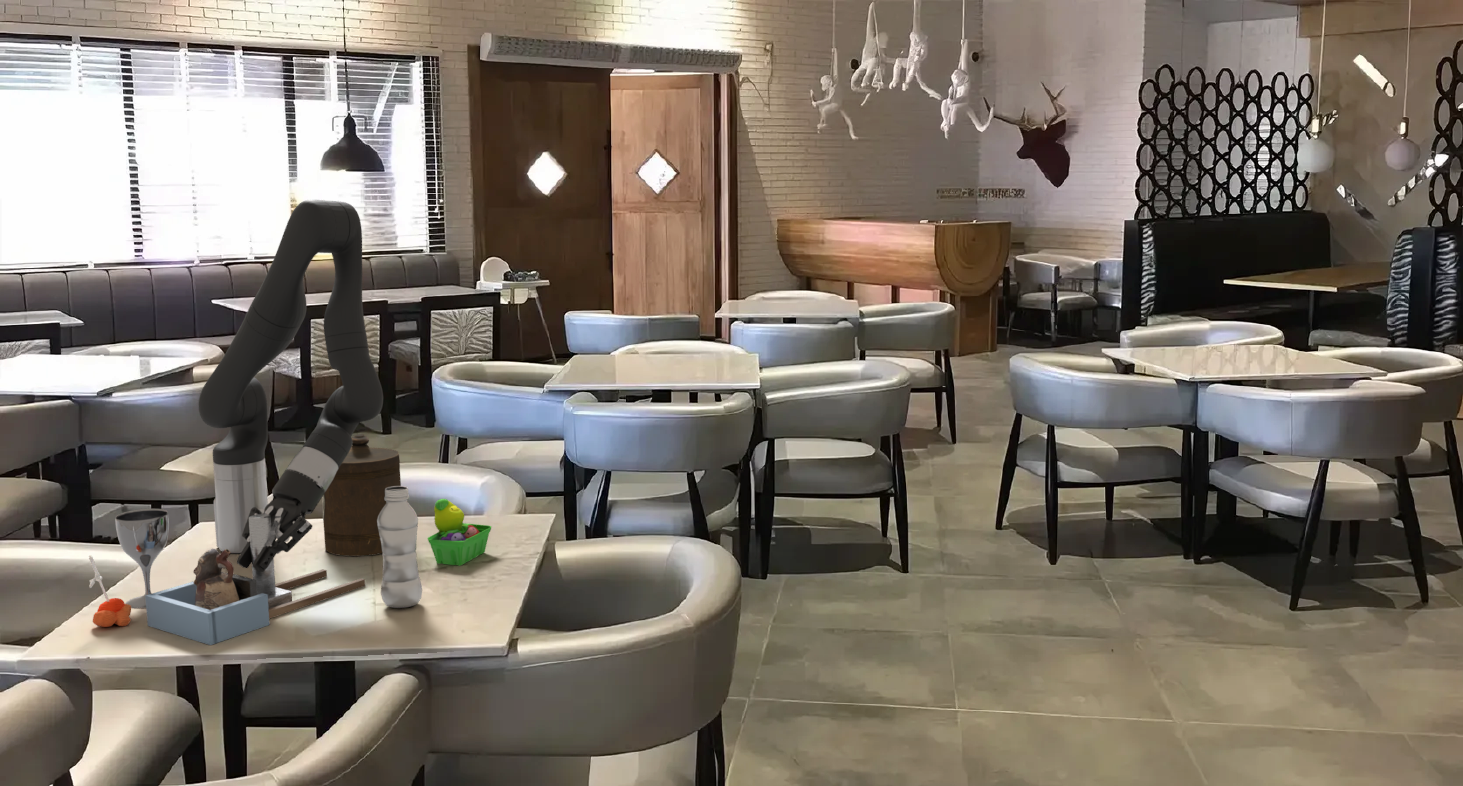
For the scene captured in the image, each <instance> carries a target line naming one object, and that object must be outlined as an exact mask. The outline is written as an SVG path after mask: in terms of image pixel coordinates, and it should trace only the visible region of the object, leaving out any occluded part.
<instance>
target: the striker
mask: <svg viewBox="0 0 1463 786" xmlns="http://www.w3.org/2000/svg"><path fill="white" fill-rule="evenodd" d="M271 527H272V526H271V515H267V514H260V515H254V516H250V517H249V530H250V545H251V560H252V563H251V574H252V577H248V576H243V575H239V574H235V573H233V577H232V580H233V582H234V584H235V587H236V591H237V594H238V597H239V601H240V600H243V599H246V598H249V597H252V596H256V595H259V594H262V593H264V594H267V595H268V609H270V608H273V607H276V606H279V605H282V604H285V603H288V602H291V601H293V591H291V590H289V589H287V590H284V589H281V588H277V587H275V584H276V577H275V575H276V574H275V562H274V561H275V560H274V558H275V557H274V558H273V560H272V561H271V563H270V564H269V566H268V567H267V568H266V569H265V571H264V572H259V571H257V570H256V569H255V568H253V566H252V564H253V563H254V561H255V559H256V558H257V556H258V555H259V553H260V552H261V550H262V549H263V547H267V546H266V543H267V541H268V539H269V537H270V530H271ZM225 573H226V572H225ZM226 574H228V572H227V573H226Z"/></svg>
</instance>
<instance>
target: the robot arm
mask: <svg viewBox="0 0 1463 786" xmlns="http://www.w3.org/2000/svg"><path fill="white" fill-rule="evenodd" d="M283 231H284V232H283V235H282V237H281V240H280V242H279V244H278V248H277V250H276V252H275V255H274V257H273V261H272V262H271V265H270V267H269V269H268V271H267V273H266V275H265V277H264V279H263V282H262V284H261V285H260V287H259V289H258V291H257V293H256V295H255V296H254V297H253V300H252V302H251V303H250V306H249V308H248V310H247V311H246V314H245V315H244V318H243V319H242V320H243V321H242V322H241V325H240V327H239V328H238V330H237V332H236V333H235V335H234V337H233V340H232V341H231V343H230V345H229V346H228V348H227V350H226V352H225V354H224V355H223V357H222V359H221V360H220V362H219V363H218V365H217V366H216V367H215V368H214V370H213V372H212V373H211V375H210V376H209V377H208V379H207V381H206V382H205V383H204V385H203V387H202V389H201V392H200V395H199V398H198V412H199V416H200V417H201V420H202V421H203V422H204V423H205V424H206V425H207V426H209V427H212V428H214V429H226V428H230V429H229V431H228V433H227V434H226V436H225V437H224V438H223V439H222V440H221V441H219V442H218V443H217V444H215V446H214V447H213V448H212V463H213V464H212V465H213V476H214V477H213V478H214V479H213V480H214V491H215V493H214V494H215V498H214V500H213V511H214V512H213V513H214V525H215V526H214V527H215V539H216V540H215V541H216V542H215V543H216V548H219V549H218V550H220V551H221V553H222V552H223V551H224V550H225V549H228V550H229V551H230V554H239V555H238V556H237V559H236V564H237V565H239V566H240V568H241V567H242V568H244V569H248V568H249V567H250V565H251V567H252V566H253V568H255V569H256V570H257V571H259V572H264V571H265V569H266V568H267V567H268V566H269V564H270V563H271V561H272V560H273V558H275V557H276V555H278V554H280V553H281V552H284V553H288V552H290V551H291V550H292V549H293V547H295V546H296V545H297V544H298V543H299V542H300V541H301V540H302V539H303V537H305V536H306V534H308V533H309V532H310V531H311V530H312V529H313V524H311V523H310V522H309V521H308V520H307V519H306V516H307V515H311V514H312V513H314V511H315V509H316V508H317V506H318V505H319V503H320V501H321V500H322V497H323V495H324V493H325V492H326V490H327V489H328V487H329V486H330V484H331V482H332V481H333V479H334V477H335V474H336V472H337V470H338V468H339V467H340V465H341V464H342V462H343V461H344V459H345V457H346V456H347V454H348V453H349V451H350V449H351V447H352V443H353V442H352V437H353V436H352V435H353V434H354V432H355V430H356V428H357V427H358V425H359V424H360V423H362V422H366V421H370V420H373V419H374V418H376V417H378V415H380V412H381V411H382V409H383V404H384V392H383V388H382V384H381V382H380V378H379V376H378V374H377V373H378V372H377V370H376V367H375V366H374V364H373V362H372V359H371V356H370V348H369V342H368V337H367V331H366V325H365V318H364V308H363V231H362V223H361V218H360V216H359V214H358V211H357V210H356V208H355V207H354V205H352V204H350V203H348V202H345V201H339V200H337V201H336V200H325V199H323V200H322V199H306V200H303V201H301V202H299V203H298V204H297V206H296V207H294V209H293V211H292V212H291V214H290V217H289V219H288V220H287V223H286V226H285V229H284V230H283ZM317 254H331V256H332V259H333V260H332V261H333V264H334V282H333V287H332V291H331V294H330V297H329V299H328V301H327V306H326V309H325V312H324V318H323V335H324V340H325V347H326V353H327V359H328V364H329V366H330V367H331V368H332V369H333V370H335V371H337V372H338V374H339V375H340V379H341V380H340V381H341V383H342V385H341V386H340V387H338V388H337V389H335V391H333V392H332V394H331V395H330V396H329V398H328V399H327V401H326V403H325V405H324V406H323V409H322V411H321V413H320V415H319V418H318V421H317V423H316V427H315V428H314V430H313V431H311V433H310V435H309V436H308V438H307V439H306V440H305V442H304V444H303V445H302V447H301V448H300V450H298V452H297V453H296V454H295V455H294V457H293V458H292V460H291V461H290V462H289V464H288V465H287V467H286V469H285V470H284V471H283V473H282V474H281V475H280V478H279V479H278V480H277V482H276V484H274V487H273V488H272V491H271V492H272V493H271V494H272V499H271V501H270V502H269V501H268V499H269V498H268V487H267V472H266V458H265V456H266V455H265V453H266V452H265V450H266V448H267V444H268V440H269V439H268V435H269V434H268V433H269V432H268V431H269V429H268V400H267V394H266V390H265V387H264V386H263V385H262V383H261V381H259V379H258V378H256V375H258V374H259V373H260V372H261V371H262V370H263V369H264V368H265V367H266V366H268V365H269V364H271V362H273V360H274V359H276V358H277V357H278V356H279V355H281V354H282V353H283V352H284V351H285V350H286V349H287V348H288V347H289V345H290V344H291V343H292V341H293V340H294V338H295V336H296V335H297V333H298V331H299V329H300V327H301V325H302V323H303V321H304V320H305V318H306V313H307V308H308V307H307V299H306V298H307V297H306V293H305V287H304V277H305V275H306V272H307V270H308V267H309V266H310V264H311V262H312V261H313V259H314V257H315V256H316V255H317ZM260 514H267V515H271V526H272V527H271V530H270V537H269V539H268V541H267V543H266V546H267V547H263V549H262V550H261V552H260V553H259V555H258V556H257V558H256V559H255V561H254V563H253V564H252V560H251V545H250V530H249V517H250V516H254V515H260Z"/></svg>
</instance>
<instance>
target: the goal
mask: <svg viewBox="0 0 1463 786" xmlns="http://www.w3.org/2000/svg"><path fill="white" fill-rule="evenodd" d="M193 583H194V580H193V581H190V582H187V583H183V584H180V585H176V586H174V587H170V588H166V589H164V590H163V589H162V590H160V591H157V592H153V593H152V592H151V593H152V594H149V595H145V594H144V595H145V598H146V608H145V609H146V619H147V627H150V628H154V629H157V630H161V631H163V632H166V633H170V634H173V635H177V636H179V637H183V638H186V639H188V640H192V641H194V642H198V643H202V644H206V645H208V646H212V645H215V644H219V643H222V642H224V641H226V640H229V639H232V638H234V637H238V636H242V635H244V634H247V633H249V632H253V631H255V630H258V629H261V628H264V627H267V626H270V618H269V609H268V595H267V594H264V593H262V594H259V595H256V596H252V597H249V598H246V599H243V600H240V601H237V602H234V603H230V604H227V605H224V606H221V607H218V608H215V609H212V610H208V609H205V608H201V607H198V606H195V596H196V589H197V586H196V585H195V584H193Z"/></svg>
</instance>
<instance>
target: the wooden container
mask: <svg viewBox="0 0 1463 786" xmlns="http://www.w3.org/2000/svg"><path fill="white" fill-rule="evenodd" d="M351 438H352V442H353V443H352V447H351V449H350V451H349V453H348V454H347V456H346V457H345V459H344V461H343V462H342V464H341V465H340V467H339V468H338V470H337V472H336V474H335V477H334V479H333V481H332V482H331V484H330V486H329V487H328V489H327V490H326V492H325V493H324V495H323V497H322V498H321V500H322V505H321V506H322V519H323V520H322V522H323V532H324V535H323V536H324V537H323V538H324V549H325V550H326V552H327V553H329V554H332V555H336V556H341V557H342V556H343V557H365V556H366V557H367V556H375V555H381V554H383V552H382V546H381V540H380V535H379V530H378V525H377V519H378V515H379V514H380V512H381V510H382V509H383V507H384V506H385V505H386V501H385V499H384V497H385V489H386V488H388V487H393V486H402V483H401V468H400V467H401V461H400V454H399V453H400V452H399V451H397V450H395V449H391V448H388V447H387V448H385V447H370V446H369V445H368V443H369V442H370V439H369V437H368V436H367V435H365V434H363V433H359V434H354V435H353V436H351Z"/></svg>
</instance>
